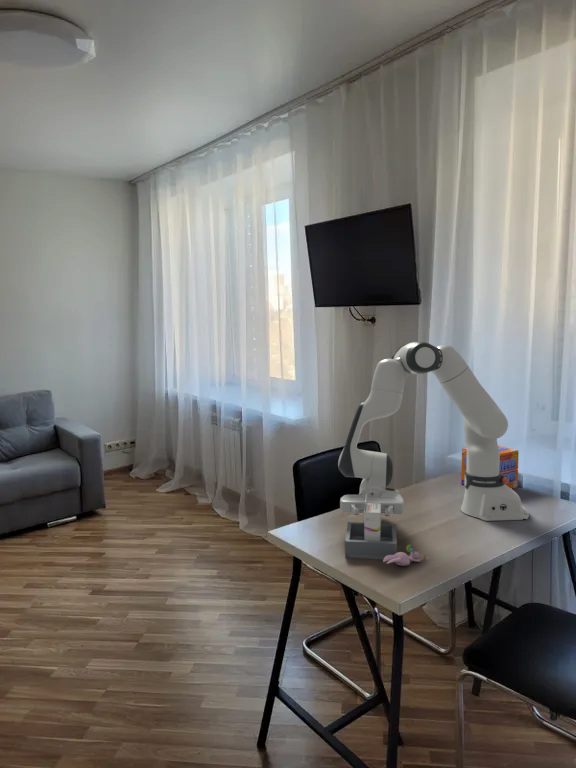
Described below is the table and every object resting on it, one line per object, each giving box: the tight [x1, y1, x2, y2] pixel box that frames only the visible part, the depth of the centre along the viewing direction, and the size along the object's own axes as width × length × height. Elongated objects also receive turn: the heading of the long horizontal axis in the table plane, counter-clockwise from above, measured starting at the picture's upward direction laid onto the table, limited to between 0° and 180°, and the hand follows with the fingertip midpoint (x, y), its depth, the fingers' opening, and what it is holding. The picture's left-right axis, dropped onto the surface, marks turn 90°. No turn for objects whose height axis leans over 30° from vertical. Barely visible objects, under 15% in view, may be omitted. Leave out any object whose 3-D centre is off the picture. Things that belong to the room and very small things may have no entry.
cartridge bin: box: [344, 521, 398, 560], centre depth 167 cm, size 15×15×5 cm
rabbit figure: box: [382, 544, 427, 567], centre depth 156 cm, size 6×6×15 cm
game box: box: [460, 445, 520, 489], centre depth 223 cm, size 16×16×16 cm
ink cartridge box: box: [363, 494, 382, 541], centre depth 167 cm, size 9×5×15 cm, turn 171°
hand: (371, 513), depth 168 cm, fingers open, 8 cm apart
